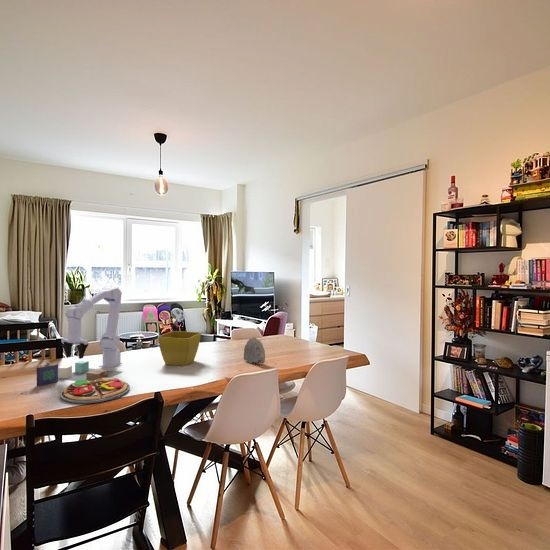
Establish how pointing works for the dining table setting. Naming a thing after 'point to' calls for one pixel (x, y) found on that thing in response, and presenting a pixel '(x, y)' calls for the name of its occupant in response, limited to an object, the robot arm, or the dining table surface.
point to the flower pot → (179, 347)
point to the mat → (82, 376)
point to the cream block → (64, 371)
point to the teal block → (82, 366)
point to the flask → (47, 374)
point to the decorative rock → (254, 351)
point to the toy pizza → (94, 390)
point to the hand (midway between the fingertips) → (74, 357)
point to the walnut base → (97, 374)
